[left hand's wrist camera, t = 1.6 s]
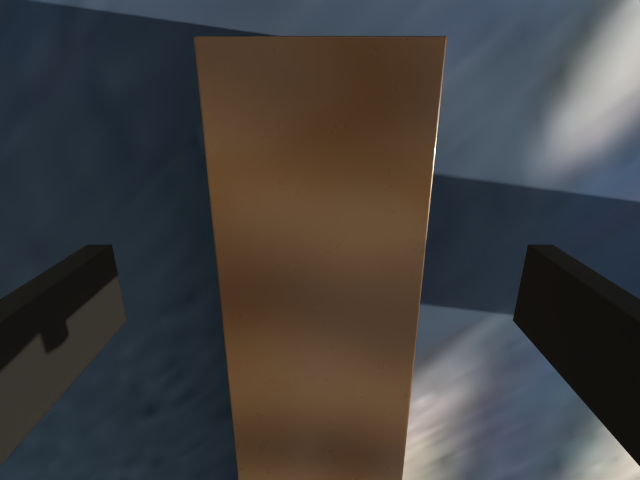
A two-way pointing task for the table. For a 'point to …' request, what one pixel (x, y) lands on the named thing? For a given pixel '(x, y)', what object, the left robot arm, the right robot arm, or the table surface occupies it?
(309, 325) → the wide beam
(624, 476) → the table surface
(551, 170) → the table surface
